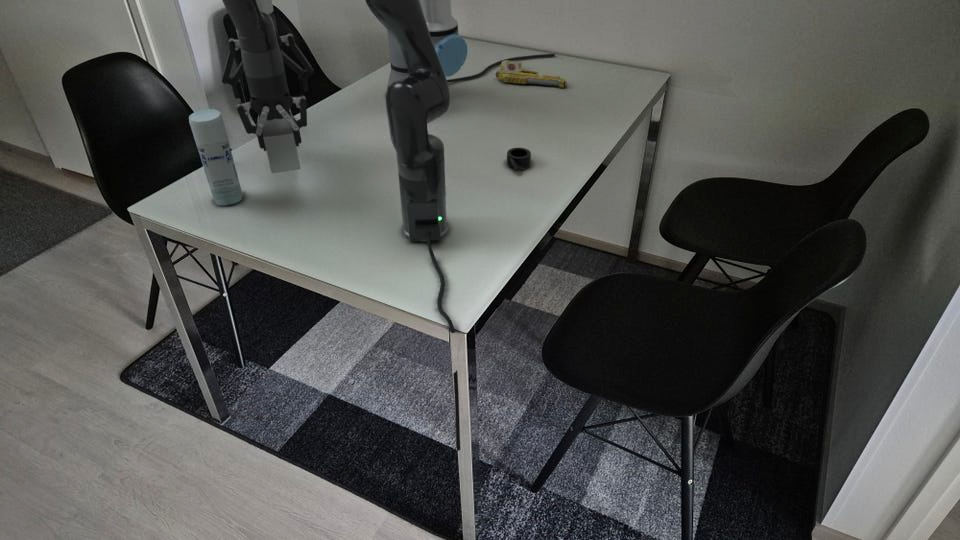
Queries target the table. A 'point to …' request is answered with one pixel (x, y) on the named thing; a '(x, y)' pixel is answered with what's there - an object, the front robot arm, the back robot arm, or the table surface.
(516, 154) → the duct tape
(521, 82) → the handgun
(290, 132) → the bar
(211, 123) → the spray paint can
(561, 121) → the table surface
